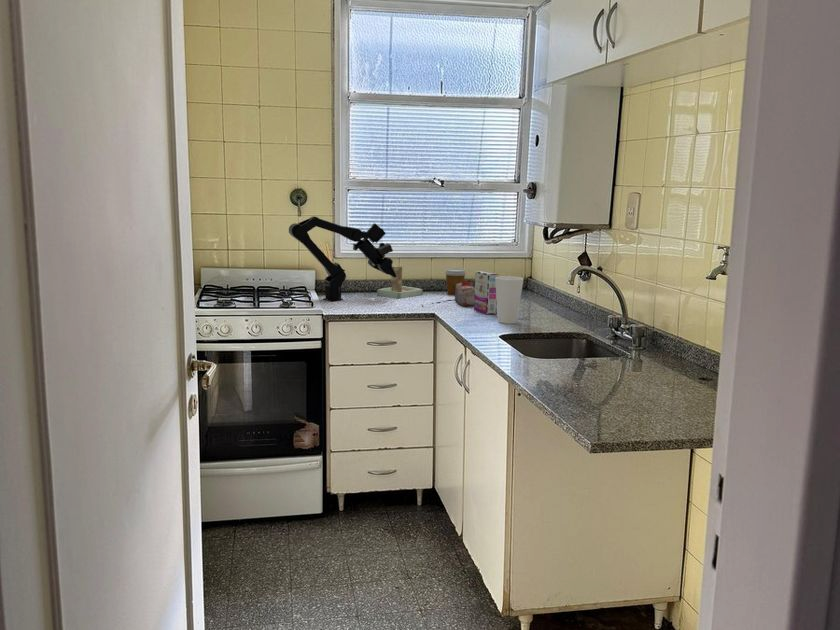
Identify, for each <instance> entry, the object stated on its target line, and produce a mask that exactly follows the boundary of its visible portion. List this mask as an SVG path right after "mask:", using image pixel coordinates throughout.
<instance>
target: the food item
mask: <svg viewBox="0 0 840 630" xmlns="http://www.w3.org/2000/svg"><path fill="white" fill-rule="evenodd" d="M474 295H475V286H473V284H472V282H471V281H469V282H468V281H464V282H463V283H458V284H456V287H455V295H454V302H456V303H457V305H461V306H463V307H474Z"/></svg>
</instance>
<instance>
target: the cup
mask: <svg viewBox="0 0 840 630" xmlns="http://www.w3.org/2000/svg"><path fill="white" fill-rule="evenodd" d="M524 280H525V279H524V277H521V276H515V275H514V276H513V275H500V276H499V275H498V276H497V277H496V278H495V282H496V297H497V322H498V323H500V324H506V325H509V324H516V323H517V321H518V316H519V311H520V310H519V309H520V306H521V303H520V302H521V298H522V291H523V285H524Z"/></svg>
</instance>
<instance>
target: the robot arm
mask: <svg viewBox="0 0 840 630" xmlns="http://www.w3.org/2000/svg"><path fill="white" fill-rule="evenodd" d="M317 227H318V228H320V229H323V230H326V231H329V232H332V233H335V234H338V235H340V236H342V237H343V238H345V239H347V240H349V241H352V242H354V243H353V244H352V246H353V247H352V250H353V251H358V250H359V251H360V252H361V253H362V254H363V255H364V258H366V259H368V260H367V264H368V265H369V266H370V267H372V268H373V269H376V270H377V271H380V272H382V273H384V274H386V275H389V276H391V277H392V276H393V277H396V274H395V272H394V270H393V268H392V266H393V263H394V260H393V259H392V258H391V257H389V256H388V257H387V256H386V255H387V254H389V253H393V251H394V249H393V247H392V244H390V243H383V242H380V240H381V239H382V238H384V237H385V235H386V234H387V233H386V231H385V230H384V229H383V228H382V227H380V226H379V225H378V224H377V223H373V224H372V225H371V226H370V227H369V229H368V230H366V231H365V230H363V231H362V229H359V228H357V227H353V226H352V227H351V226H345V225H344V226H343V225H340V224H338V223H334V222H331V221H328V220H324V219H322V218H320V217H318V216H315V215H313V216H311V217H310V218H307V219H304V220H302V221H300V222H298V223H296V222H294V223H291V224H290V225H289V227H288V233H289V235H290V236H291V237H292V238H294V239H295V240H296V241H298V242H300V243H301V244H302V245H303V246H304V247H305V248H306V250H308V252H309V253H311V255H312V256H313V257H314V259H316V260H317V262H318V263H320V265H321V266H322V267H323V268H324V271H325V272H326V273H327V277H325V279H324V281H323V282H324V285H325V286H324V287H325V289H324V290H325V297H324V298H322V300H324V301H329V302H337V301H339V302H340V301H343V300H344V298H342V288H341V287H342V285H343V283H344V282H345V281H346V279H347V274H346V271H345V269H343V268H342V266H341V264H340V263H338V262H334V263H333V262H332V260H330V258H328V256H327V255H326V254H325V253H324V252H323V251H322V250H321V249H320V247H318V246H317V244H316V243H315V242H314V241H313V240H312V238H311V237H310V235H309V233H308V232H310V231H312V230H313V229H314V228H317ZM378 242H380V243H379V246H378V247H375V246H374V244H375V243H378Z"/></svg>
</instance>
